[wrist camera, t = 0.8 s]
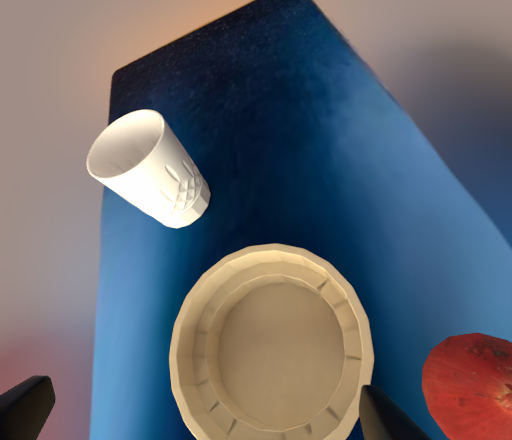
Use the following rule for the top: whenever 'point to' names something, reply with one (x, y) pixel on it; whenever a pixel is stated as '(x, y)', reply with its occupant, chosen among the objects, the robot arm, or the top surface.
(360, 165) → the top surface
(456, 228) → the top surface
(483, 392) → the onion
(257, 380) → the bowl
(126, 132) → the white cup
